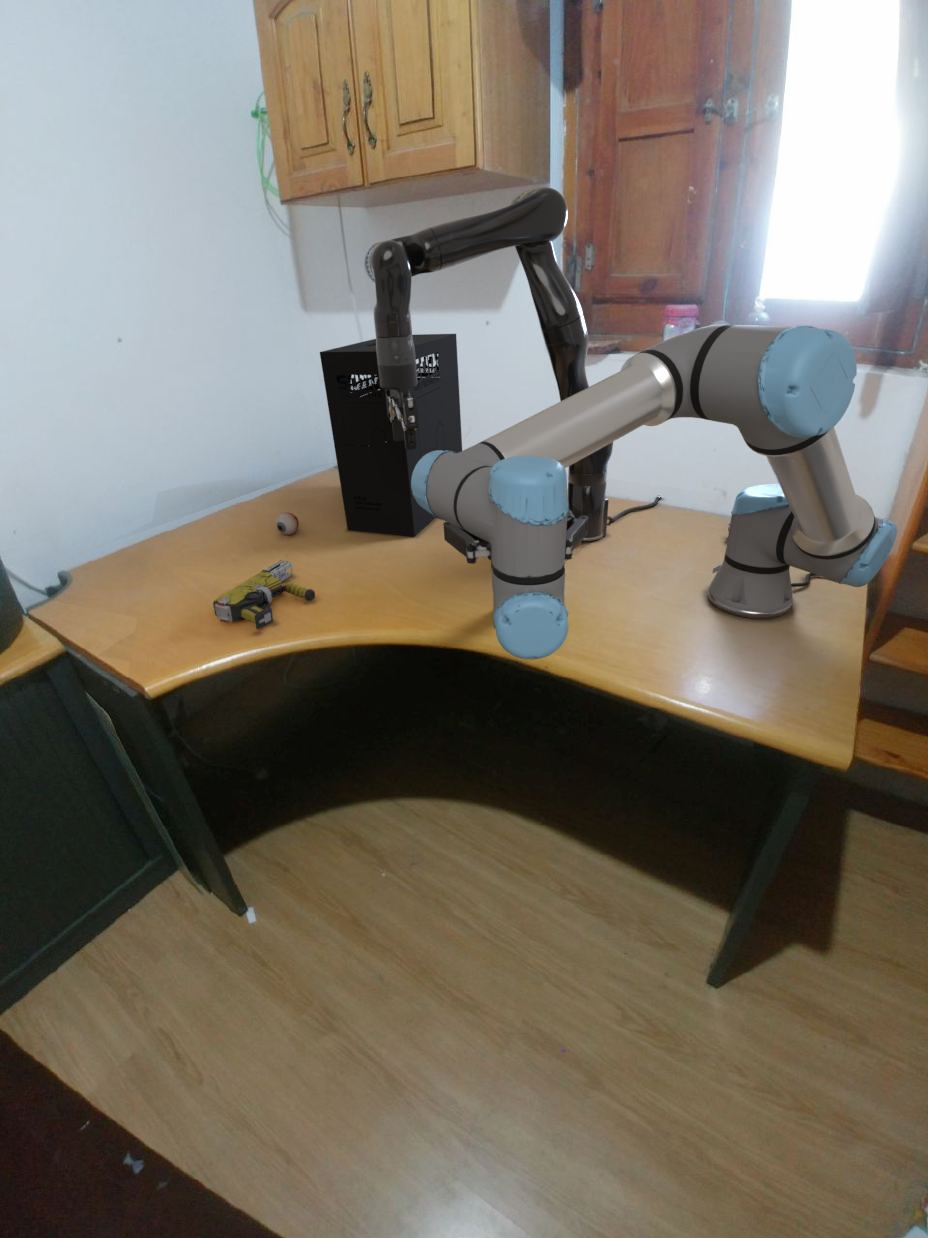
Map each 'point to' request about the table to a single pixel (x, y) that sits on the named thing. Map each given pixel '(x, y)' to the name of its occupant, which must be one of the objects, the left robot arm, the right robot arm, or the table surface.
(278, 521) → the eyeball
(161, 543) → the table surface
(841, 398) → the right robot arm
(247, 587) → the toy gun
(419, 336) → the cardboard box
